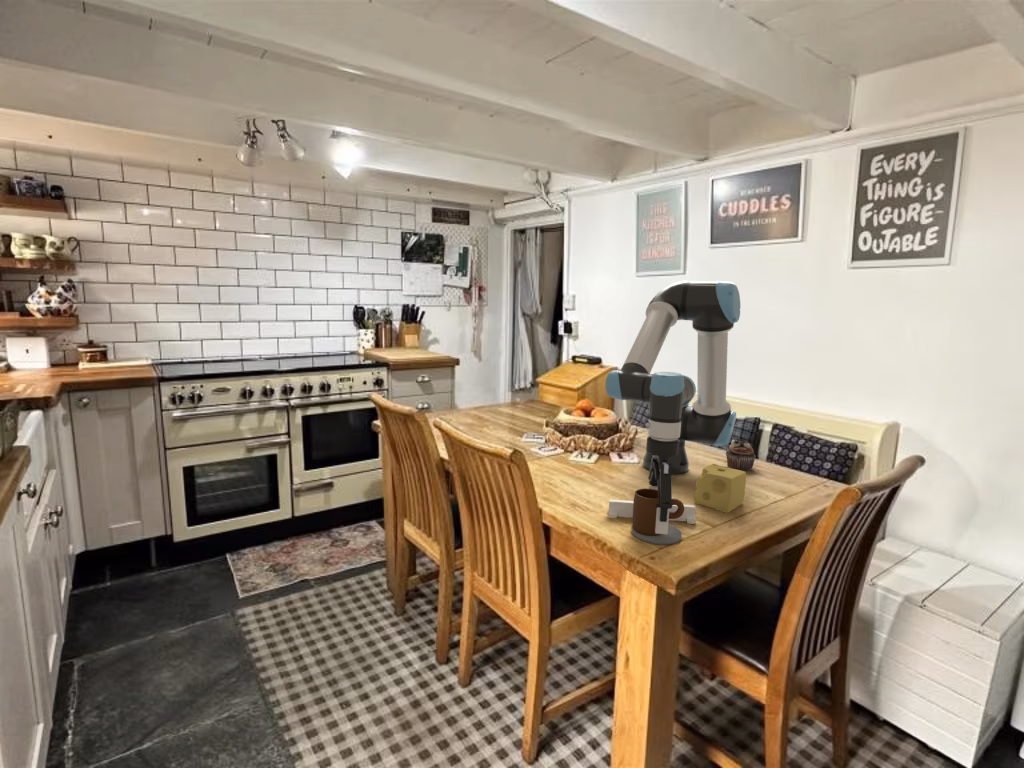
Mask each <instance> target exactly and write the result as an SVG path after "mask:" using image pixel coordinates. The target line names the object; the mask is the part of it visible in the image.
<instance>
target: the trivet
mask: <svg viewBox="0 0 1024 768" xmlns="http://www.w3.org/2000/svg"><path fill="white" fill-rule="evenodd" d="M630 532H631V535H632V536H633V537H635V538H636V539H638V540H639V541H641V542H645V543H647V544H652V545H659V546H669V545H675V544H677V543H680V542H681V541H682V538H683V535H682V534H683V533H682V531H681V530H680V529H679V528H678V527H676V526H674V525H672V524H670V523H668V534H659V535H656V536H647V535H642V534H639V533H637V532H636V531H635V530H634V529H633V527H632V526H631V528H630Z"/></svg>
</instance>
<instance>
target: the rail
mask: <svg viewBox="0 0 1024 768" xmlns="http://www.w3.org/2000/svg"><path fill="white" fill-rule="evenodd" d="M633 503H634V500H624V499H623V500H620V499H608V509H607V514H608V515H607V516H608V518H610V519H617V517H620V518H631V519H633ZM683 505H684V513H683V515H682V516H681V517H679V518H677V519H669V521H676V522H685V523H686V524H693V525H695V524H696V517H695V515H696V506H695V505H694V504H684V503H683ZM677 509H678V506H677V505H672V508H671V509H669V512H675V511H677Z"/></svg>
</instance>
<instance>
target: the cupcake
mask: <svg viewBox="0 0 1024 768" xmlns="http://www.w3.org/2000/svg"><path fill="white" fill-rule="evenodd" d="M730 443H731V444H730V445H729V446H728V448H727V449H726V451H725V456H726V463H727V464H726V465H727V468H732V469H736V470H741V471H744V472H750V471H751V470H753V466H754V463H755V460H756V457H757V456H756V454H755V453H754V452H755V451H754V448H753V447H752V446H751V444H750V443H748V442H747V439H739V438H737V437H736V438H733V439H732V440H731V442H730Z"/></svg>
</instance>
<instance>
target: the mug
mask: <svg viewBox="0 0 1024 768" xmlns="http://www.w3.org/2000/svg"><path fill="white" fill-rule="evenodd" d="M633 501H634V503H633V518H632V520H631V521H632V523H631V527H633V529H634V530H635V531H636V532H637V533H639V534H642V535H647V536H656V535H659V534H656V533H655V527H656V513H657V508H656V507H655V505H656V504H658V490H654V489H649V488H640V489H636V490H635V491H634V495H633ZM663 503H667V502H663ZM683 504H684V503H683V501H682V500H680V499H678V498H672V505H677V506H678V509H677V511H675V512H669V519H677V518H679V517H681V516H682V515H683V513H684V505H685V504H684V505H683Z"/></svg>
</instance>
